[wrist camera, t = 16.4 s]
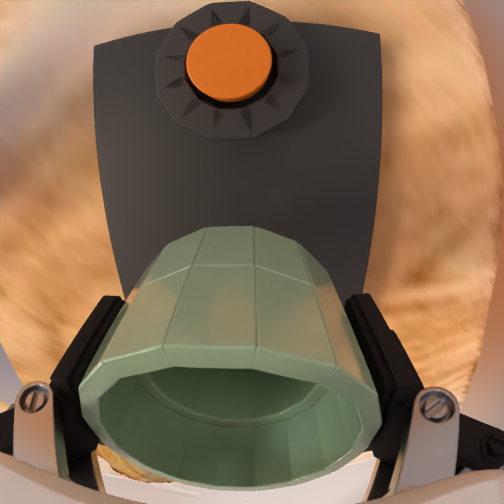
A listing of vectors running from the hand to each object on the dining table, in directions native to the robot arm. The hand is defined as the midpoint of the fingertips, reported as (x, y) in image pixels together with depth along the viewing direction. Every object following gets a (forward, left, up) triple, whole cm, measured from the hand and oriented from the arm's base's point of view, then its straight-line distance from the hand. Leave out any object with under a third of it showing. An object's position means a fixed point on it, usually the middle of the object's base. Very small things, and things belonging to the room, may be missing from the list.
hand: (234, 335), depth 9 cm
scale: (-3, 0, -7) cm, 7 cm away
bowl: (0, 0, -1) cm, 1 cm away
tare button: (-9, 0, -4) cm, 10 cm away
